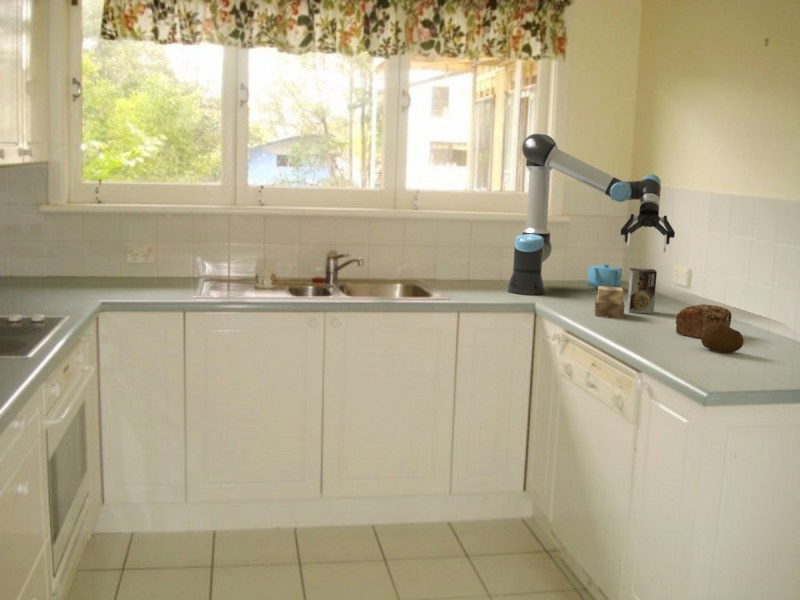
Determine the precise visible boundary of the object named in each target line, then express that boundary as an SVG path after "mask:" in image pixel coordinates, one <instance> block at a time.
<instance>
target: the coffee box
mask: <svg viewBox="0 0 800 600" xmlns="http://www.w3.org/2000/svg"><path fill="white" fill-rule="evenodd" d="M657 273H658V272H657V270H656V269H653V268H636V267H635V268H633V267H630V268H629V278H628V288H627V289H628V291H627V292H628V293H627V303H626V311H627V310H628V311H627V312H628V313H630V312H633V314H648V315H649V314H650V315H651V314H653V315H654V312H655V311H654V308H655V297H656V287H657V285H656V284H657V275H658V274H657Z"/></svg>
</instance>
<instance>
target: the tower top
mask: <svg viewBox="0 0 800 600" xmlns="http://www.w3.org/2000/svg"><path fill="white" fill-rule="evenodd" d="M623 296H624V289H623V287H620V288H619V287H606V286H598V290H597V296H596V297H597V298H596V299H597V301H598V303H606V304H618V305H622V301H623V299H624V298H623Z"/></svg>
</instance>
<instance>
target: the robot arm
mask: <svg viewBox="0 0 800 600" xmlns="http://www.w3.org/2000/svg"><path fill="white" fill-rule="evenodd" d="M521 149H522V151H521V152H522V154H523V156H524V157H525V167H526V169H527V170H528V171H529V172H528V188H527V189H528V192H527V193H528V194H527V213H526V215H527V216H526V228H524V229H523V231H522V234H519V235H518V236H516V237H515V242H514V251H513V266H512V267H513V269H512V273H511V275H510V276H511V277H510V279H509V281H508V283H507V292H509V293H513V294H518V295H528V296H529V295H531V296H534V295H535V296H537V295H538V294H539V295H543V293H544V294H545V285H544V280H543V276H542V269H543V262H545V261H546V260H548V258H549V257H550V255H551V253H552V242H551V231H549V229H548V217H549V216H548V215H549V214H548V213H549V195H550V180H551V179H550V178H551V177H550V176H551V171H552V169H554V170H556V171H558V172H560V173H562V174H563V175H566V176H567V177H570V178H572V179H574V180H576V181H578V182H580V183H582V184H584V185H586V186H587V187H590V188H592V189H594V190H596V191H598V192H600V193H602V194H604V195H605V196H608V197H609V198H611V200H612V201H615V202H618V203H623V202H626V201H633V200H634V201H635V200H637V201H639V209H638V215H634V213H631V214H630V217H629V218H628V220H627V221H626V223H624V224H623V226H622V228H620V236H624V242H625V243H626V244H627V245H626V250H627V251H630V244H631V243H630V242H631V241H630V240H631V235H632V234H633V233H634V232H635V231H637V230H639V229H640V228H642V227H644V228H647V227H649V228H654V229H656V230H657V231H658V232H660V234H661V235H662V236H664V239H663V241H664V242H663V253H666V252H667V251H666V250H667V245H670V239H671V238H672V239H674V238H675V235H676V232H675V230H674V228H673V227H672V225H671V223H670V222H669V220H668V215H663V216H662V217H661V216H660V203H661V202H660V200H661V190H662V187H661V185H662V184H661V183H662V182H661V179H660V177H659V176H657V175H656V174H647V175H644V176H643V177H642V179H641V180H636V181H635V180H634V181H633V180H632V181H629V180H628V181H626V180H625V181H623V180H621V179H619V178H617V177H615V176H612V175H611V174H608V173H607V172H605V171H603V170H600V169H599V168H597V167H594V166H593V165H591V164H589V163H586V162H584V161H582V160H581V159H578V158H576V157H575V156H572V155H571V154H569V153H567V152H565V151H563V150H560V149H559V147H558V145H557V143H556V142H555V140H554V138H552V137H551V136H550V135H548V134H545V133H544V134H543V133H532V134H530V135H528V136H527V137H525V139H524V141H523V142H522V145H521ZM635 221H637V222H635ZM660 222H661V223H662V224H663V225H664V226H663V225H662V224H661V223H660ZM539 295H538V296H539Z"/></svg>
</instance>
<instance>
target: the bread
mask: <svg viewBox="0 0 800 600" xmlns="http://www.w3.org/2000/svg"><path fill="white" fill-rule="evenodd" d="M731 322H732V313H731V311H730V310H729V309H727V308H724V307H722V306H718V305H711V304H705V303H704V304H702V303H701V304H696V305H692V306H686V307H684V308H682V309H681V310H679V311H678V312H677V313H676V318H675V325H676V327H675V328H676V329H675V331H676V332H675V333H676V334H678V335H680V336H685V337H690V338H694V339H701V335H702V332H703V330H704V329H705V327H707V326H708V325H709V324H711V323H723V324H726V325H728V326H729V327H730V328H731Z"/></svg>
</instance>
